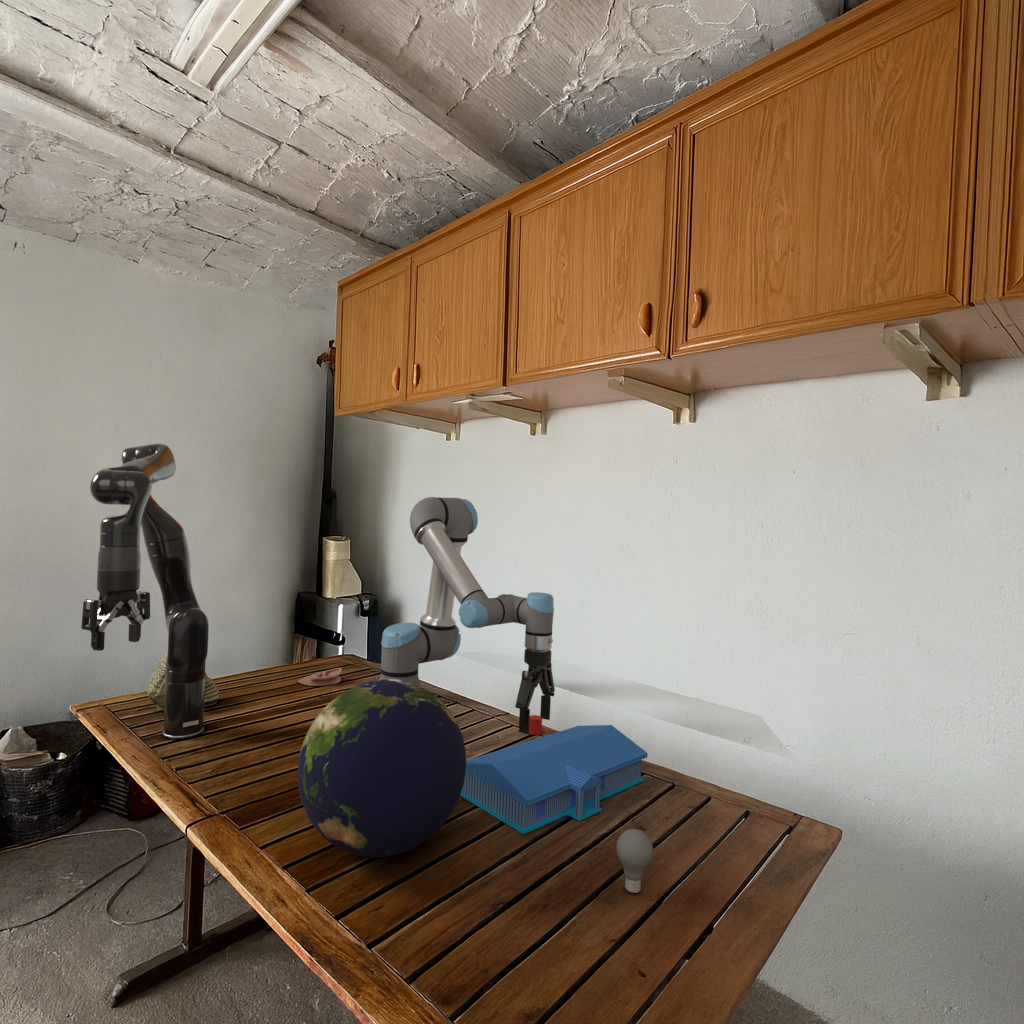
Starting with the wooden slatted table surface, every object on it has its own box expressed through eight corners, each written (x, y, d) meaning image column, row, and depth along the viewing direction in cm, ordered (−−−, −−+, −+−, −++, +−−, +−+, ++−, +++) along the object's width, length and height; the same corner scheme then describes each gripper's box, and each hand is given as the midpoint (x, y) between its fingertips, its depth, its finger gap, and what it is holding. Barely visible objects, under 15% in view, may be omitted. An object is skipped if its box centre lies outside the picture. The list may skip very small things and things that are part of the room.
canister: (538, 729, 179) (539, 714, 179) (543, 734, 175) (544, 719, 175) (526, 730, 178) (526, 715, 178) (530, 735, 174) (531, 720, 174)
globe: (256, 866, 108) (262, 691, 107) (361, 794, 135) (366, 654, 135) (408, 917, 96) (416, 722, 96) (488, 827, 124) (495, 675, 123)
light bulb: (610, 879, 108) (613, 822, 108) (644, 879, 109) (647, 822, 109) (619, 902, 102) (622, 840, 102) (655, 901, 103) (658, 840, 103)
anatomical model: (293, 672, 210) (311, 663, 221) (292, 684, 210) (310, 675, 221) (330, 676, 207) (346, 667, 219) (329, 688, 208) (345, 678, 219)
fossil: (144, 707, 182) (145, 655, 182) (212, 696, 194) (213, 647, 194) (151, 716, 175) (153, 662, 175) (221, 703, 188) (223, 653, 188)
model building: (535, 841, 120) (537, 789, 119) (456, 793, 138) (458, 747, 137) (656, 785, 146) (658, 742, 146) (576, 751, 164) (578, 712, 164)
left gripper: (103, 572, 123) (100, 655, 123) (161, 565, 136) (159, 640, 137) (72, 569, 125) (70, 651, 125) (133, 563, 138) (131, 637, 139)
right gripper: (530, 660, 163) (526, 742, 164) (568, 643, 185) (565, 715, 185) (504, 655, 167) (501, 735, 167) (545, 639, 189) (541, 710, 189)
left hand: (116, 645), depth 131 cm, fingers open, 8 cm apart
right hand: (534, 725), depth 176 cm, fingers open, 12 cm apart
